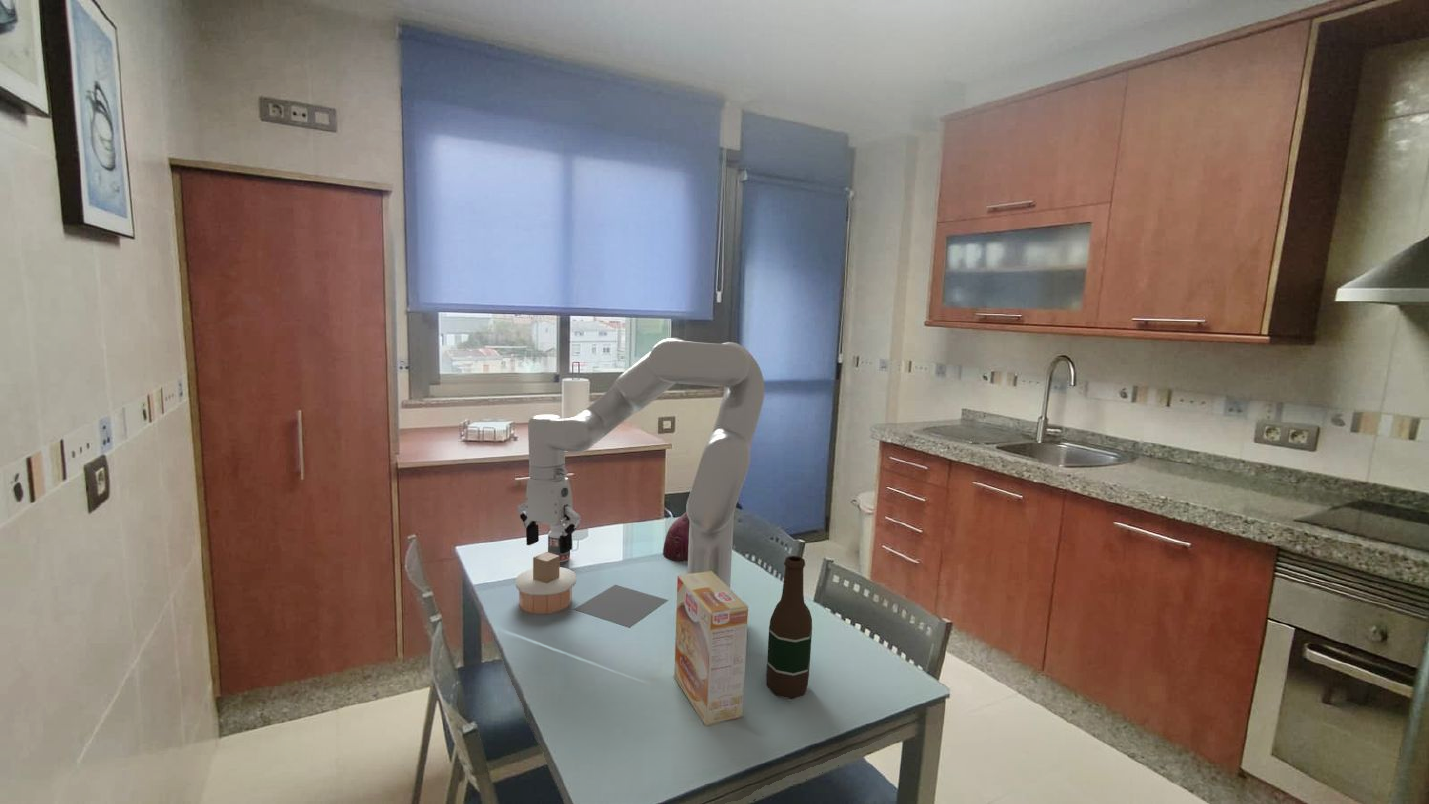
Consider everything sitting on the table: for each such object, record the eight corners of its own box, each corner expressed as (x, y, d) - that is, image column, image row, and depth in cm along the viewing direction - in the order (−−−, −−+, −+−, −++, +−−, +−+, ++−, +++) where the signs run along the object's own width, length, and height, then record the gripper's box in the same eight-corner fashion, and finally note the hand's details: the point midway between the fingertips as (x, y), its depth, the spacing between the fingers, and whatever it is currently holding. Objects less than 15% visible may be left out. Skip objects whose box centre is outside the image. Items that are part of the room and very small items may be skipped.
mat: (668, 602, 142) (668, 600, 142) (629, 629, 129) (629, 627, 129) (615, 586, 149) (615, 584, 149) (573, 611, 135) (573, 609, 135)
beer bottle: (780, 669, 116) (788, 546, 113) (817, 685, 112) (825, 558, 108) (756, 687, 110) (763, 558, 107) (793, 705, 106) (802, 571, 102)
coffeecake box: (672, 676, 113) (676, 574, 110) (708, 669, 115) (712, 569, 113) (704, 727, 99) (709, 612, 96) (744, 717, 102) (750, 605, 99)
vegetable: (703, 564, 173) (720, 515, 171) (682, 571, 164) (700, 519, 162) (674, 546, 178) (691, 498, 176) (652, 552, 169) (669, 502, 167)
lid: (588, 578, 141) (588, 553, 140) (547, 600, 129) (548, 573, 128) (544, 566, 146) (545, 541, 146) (502, 586, 135) (502, 559, 134)
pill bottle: (564, 564, 160) (564, 527, 159) (543, 561, 162) (544, 525, 160) (573, 556, 166) (574, 520, 165) (553, 553, 167) (554, 518, 166)
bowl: (581, 600, 141) (581, 579, 140) (547, 620, 131) (547, 597, 130) (544, 588, 146) (544, 568, 145) (509, 607, 136) (509, 585, 135)
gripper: (590, 473, 134) (591, 549, 136) (530, 463, 142) (532, 535, 144) (566, 480, 127) (568, 560, 129) (505, 470, 135) (507, 545, 137)
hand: (549, 547), depth 137 cm, fingers open, 9 cm apart
